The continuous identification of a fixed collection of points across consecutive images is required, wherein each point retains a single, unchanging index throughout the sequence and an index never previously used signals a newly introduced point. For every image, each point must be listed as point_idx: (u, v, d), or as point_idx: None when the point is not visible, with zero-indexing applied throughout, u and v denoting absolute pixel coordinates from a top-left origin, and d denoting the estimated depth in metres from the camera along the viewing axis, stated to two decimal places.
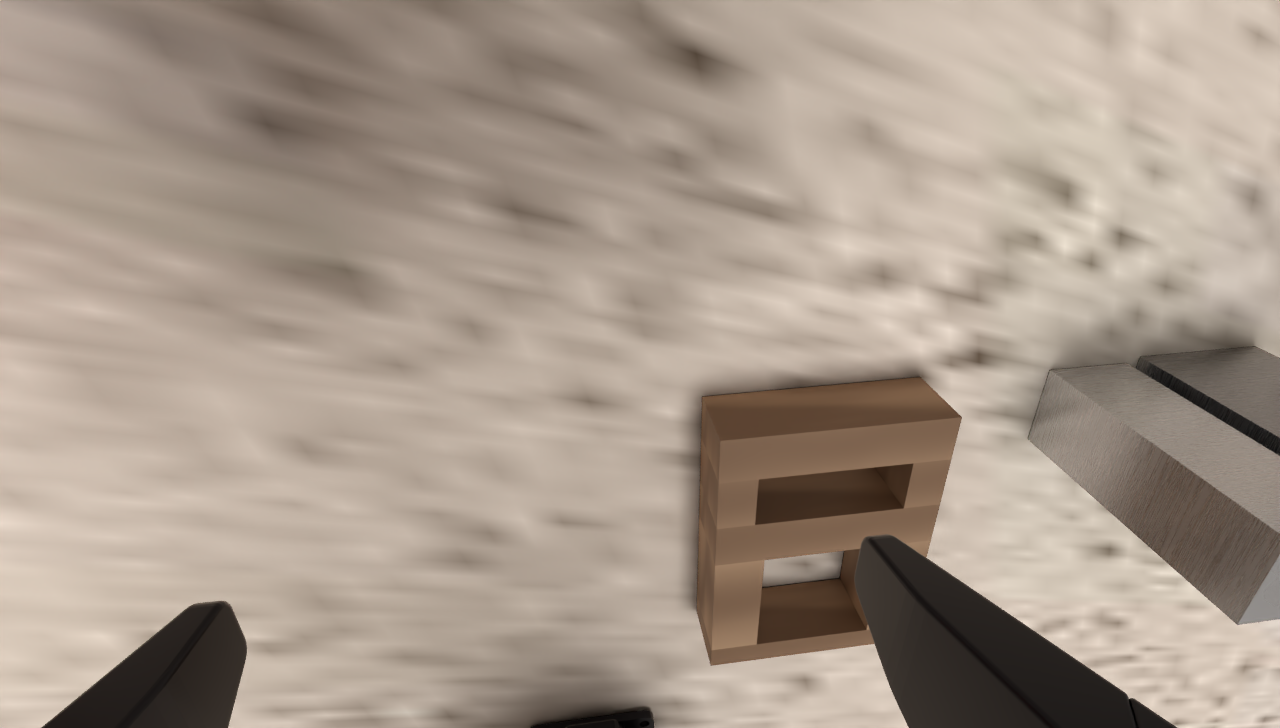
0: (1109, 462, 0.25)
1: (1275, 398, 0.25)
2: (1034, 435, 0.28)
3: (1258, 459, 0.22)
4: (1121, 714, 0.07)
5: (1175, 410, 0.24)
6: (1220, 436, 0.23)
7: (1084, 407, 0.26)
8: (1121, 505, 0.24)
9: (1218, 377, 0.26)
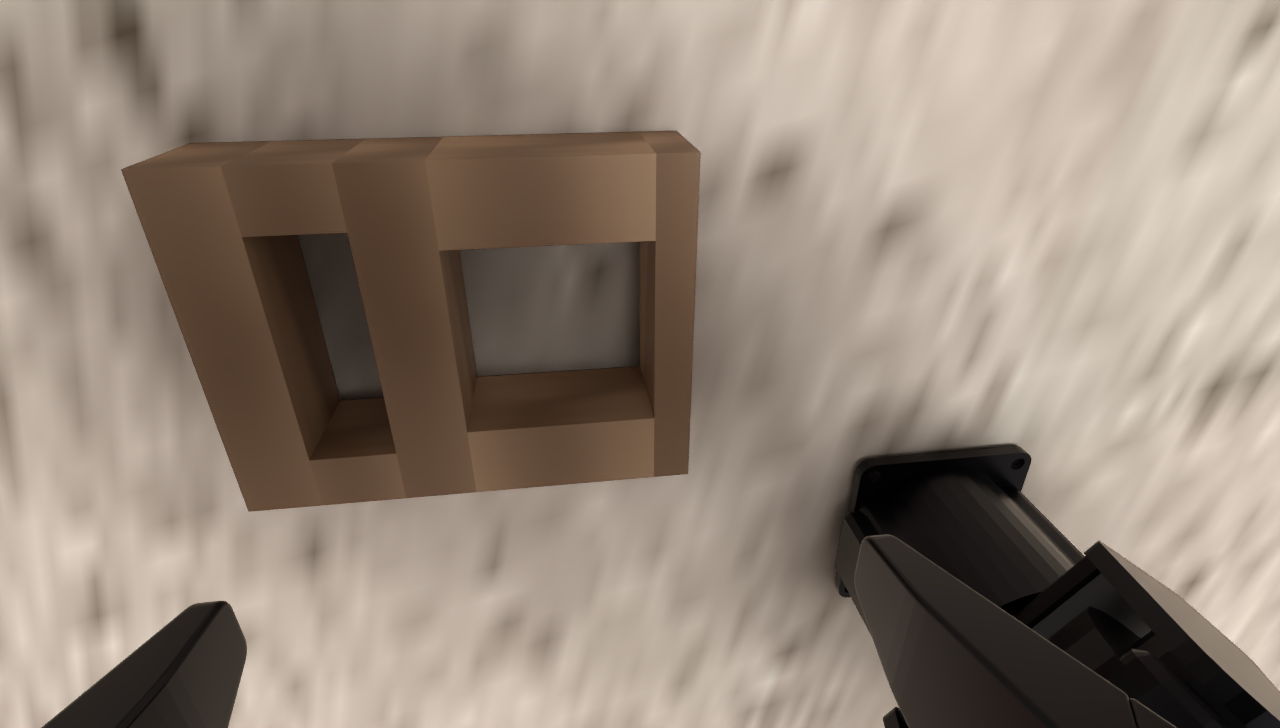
0: None
1: None
2: None
3: None
4: (1121, 714, 0.07)
5: None
6: None
7: None
8: None
9: None
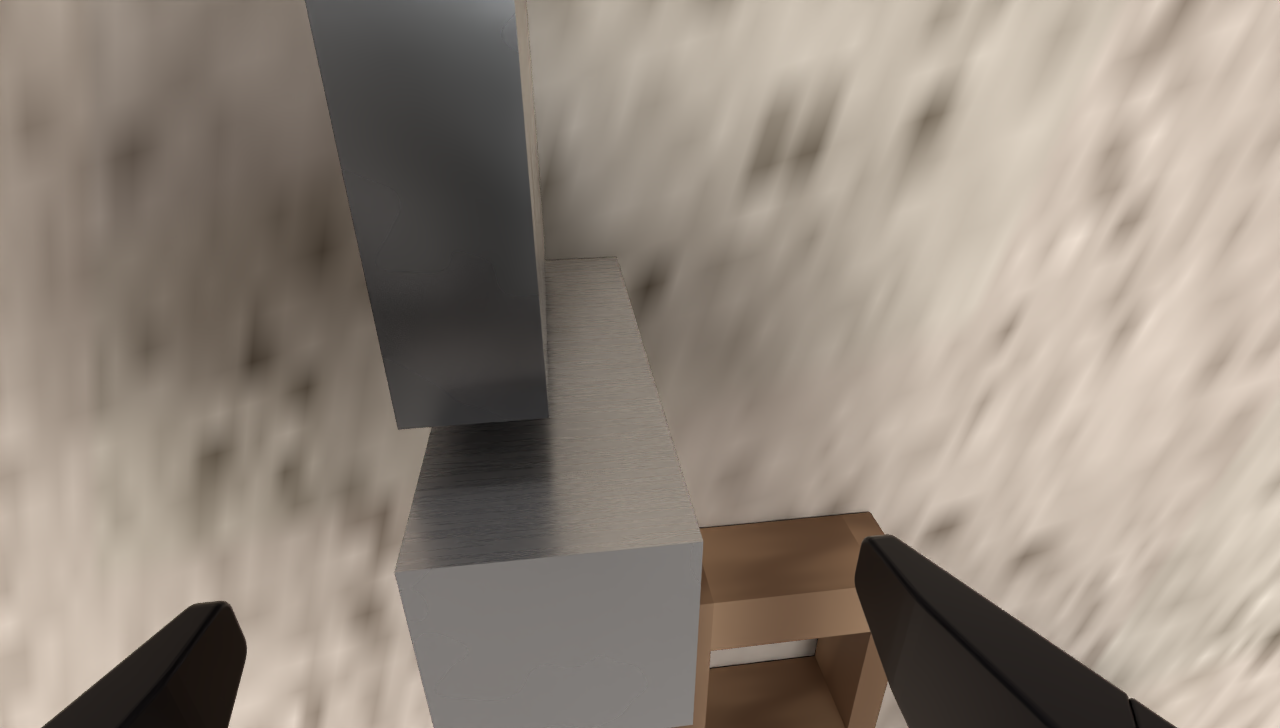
0: None
1: None
2: None
3: None
4: (1121, 714, 0.07)
5: None
6: None
7: None
8: None
9: None
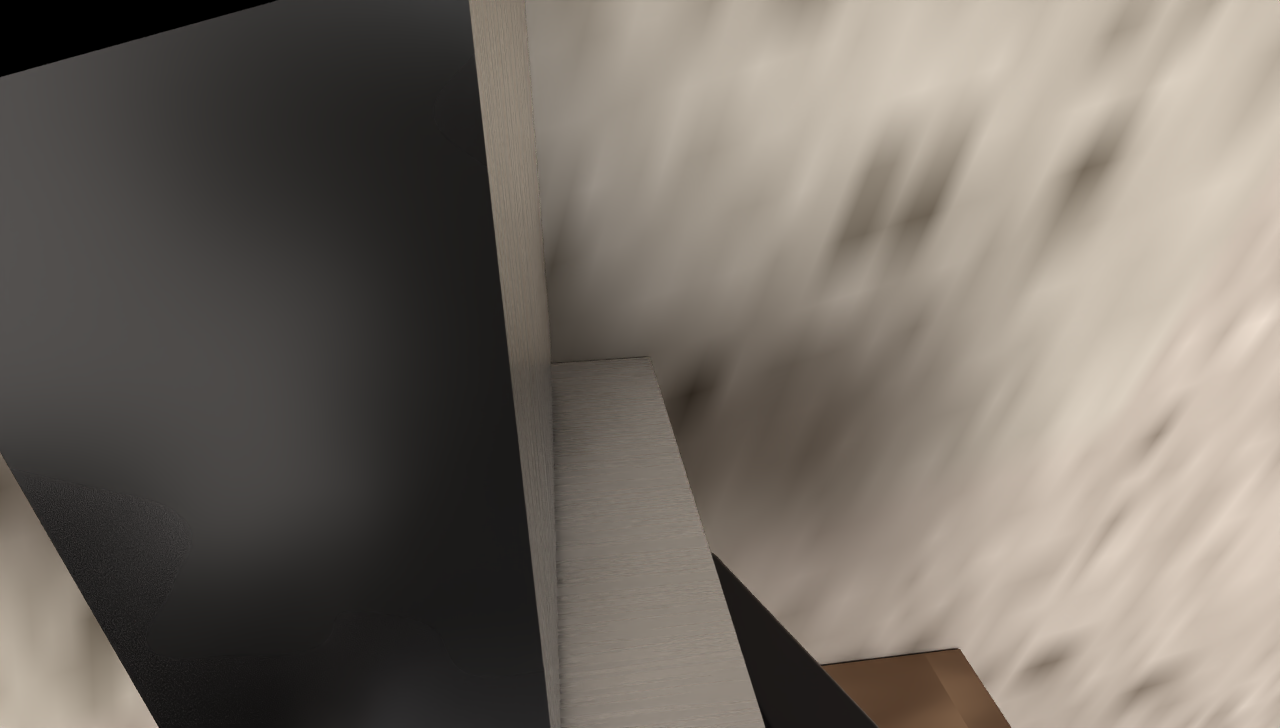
0: None
1: None
2: None
3: None
4: None
5: None
6: None
7: None
8: None
9: None
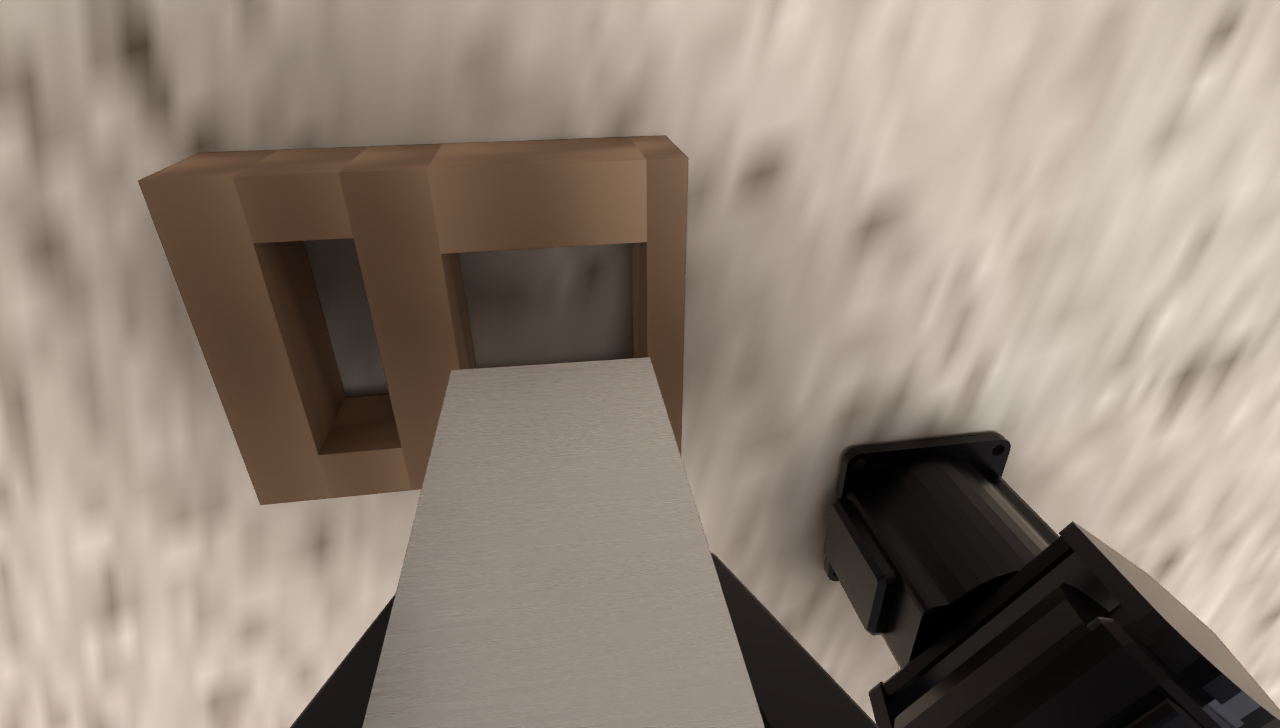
0: None
1: None
2: None
3: None
4: None
5: None
6: None
7: None
8: None
9: None
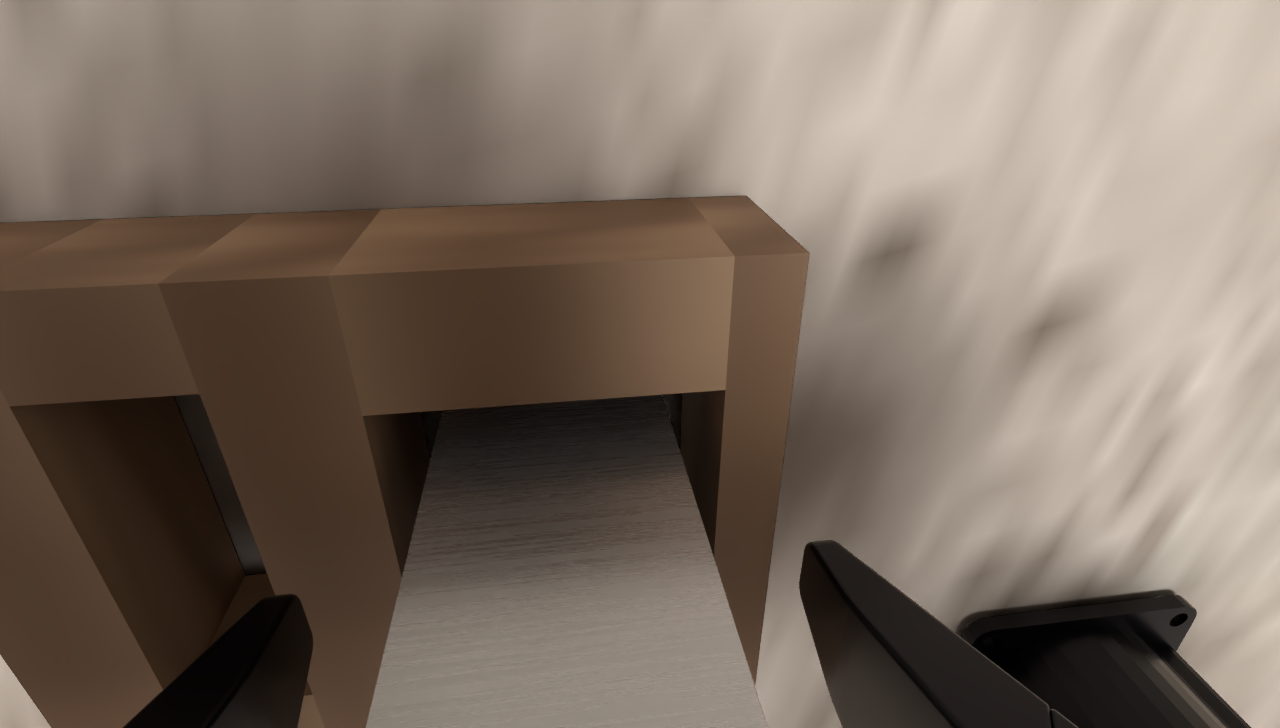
0: None
1: None
2: None
3: None
4: (1039, 725, 0.06)
5: None
6: None
7: None
8: None
9: None
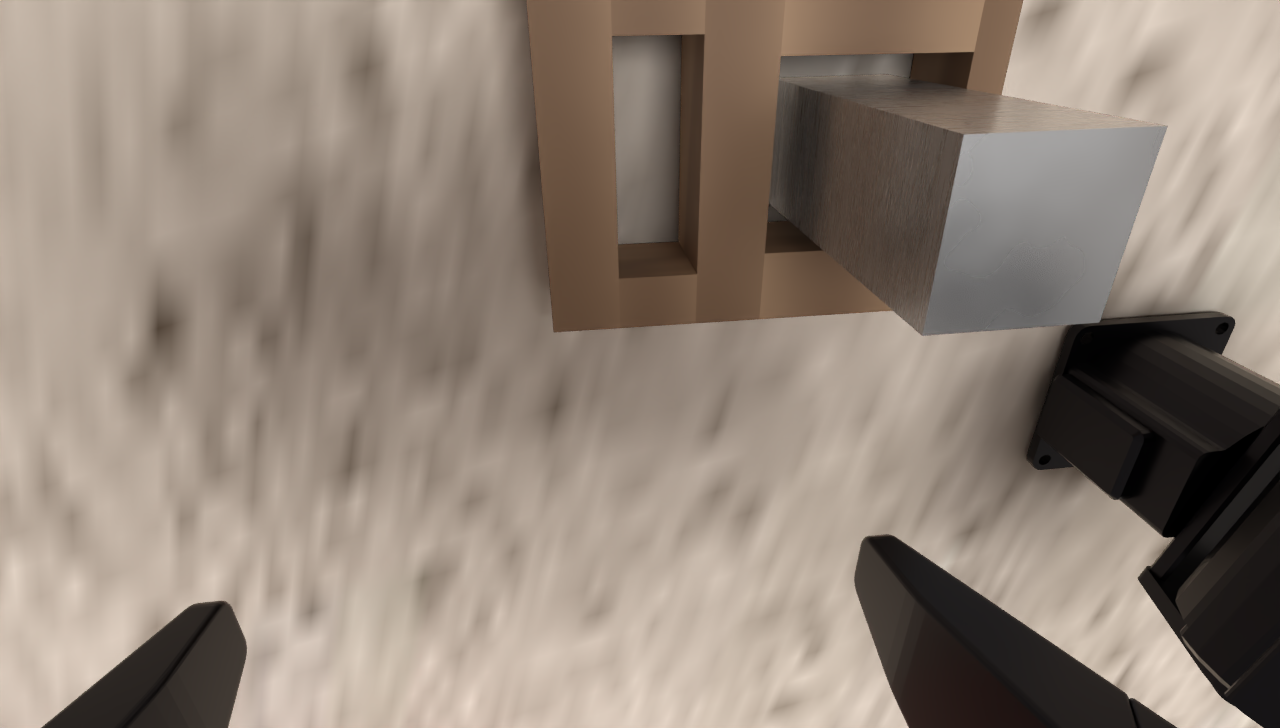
0: None
1: None
2: None
3: (864, 150, 0.14)
4: (1121, 714, 0.07)
5: (811, 137, 0.16)
6: (838, 142, 0.15)
7: None
8: None
9: None
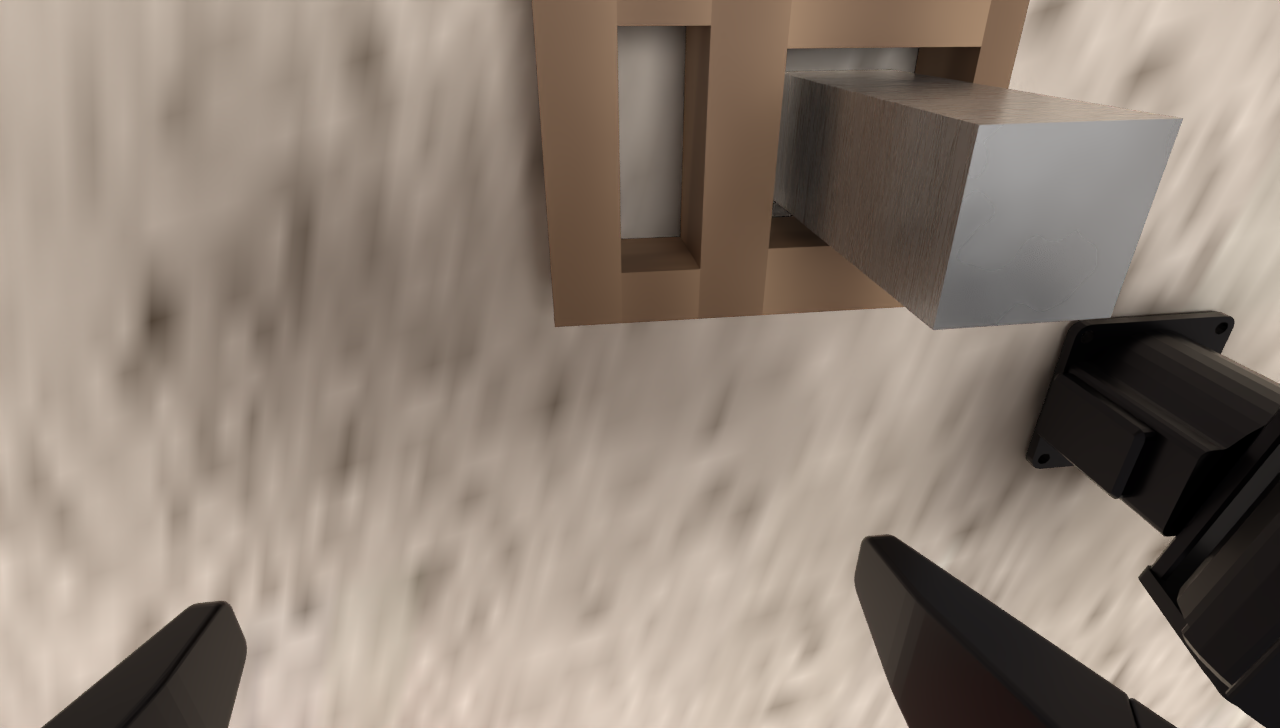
0: None
1: None
2: None
3: (873, 143, 0.13)
4: (1121, 714, 0.07)
5: (817, 131, 0.16)
6: (846, 136, 0.15)
7: None
8: None
9: None
